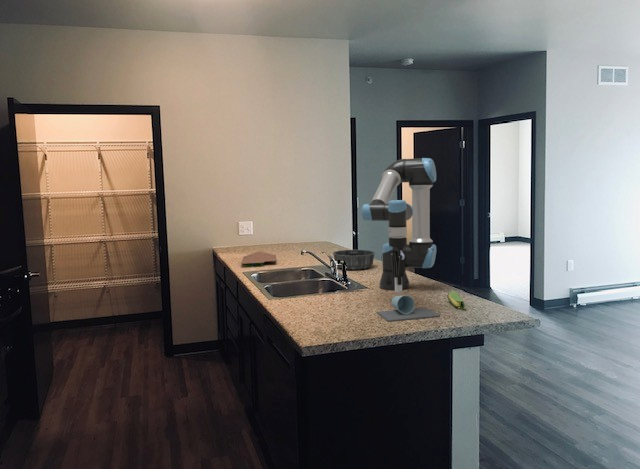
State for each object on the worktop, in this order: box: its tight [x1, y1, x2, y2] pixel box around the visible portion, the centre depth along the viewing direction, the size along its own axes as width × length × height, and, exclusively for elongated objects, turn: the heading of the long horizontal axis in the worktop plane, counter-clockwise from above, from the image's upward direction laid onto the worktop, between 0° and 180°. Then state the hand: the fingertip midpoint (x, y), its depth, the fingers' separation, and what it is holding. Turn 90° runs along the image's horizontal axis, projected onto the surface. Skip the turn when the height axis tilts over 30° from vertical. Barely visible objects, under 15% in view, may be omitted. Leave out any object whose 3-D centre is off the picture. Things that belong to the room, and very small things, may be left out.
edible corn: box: [447, 290, 466, 311], centre depth 233 cm, size 5×20×5 cm
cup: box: [391, 294, 416, 314], centre depth 224 cm, size 8×8×10 cm
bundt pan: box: [332, 249, 376, 271], centre depth 334 cm, size 26×26×10 cm
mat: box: [376, 307, 441, 323], centre depth 220 cm, size 14×22×1 cm, turn 103°
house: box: [240, 251, 277, 267], centre depth 365 cm, size 23×33×8 cm
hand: (398, 291), depth 229 cm, fingers closed
